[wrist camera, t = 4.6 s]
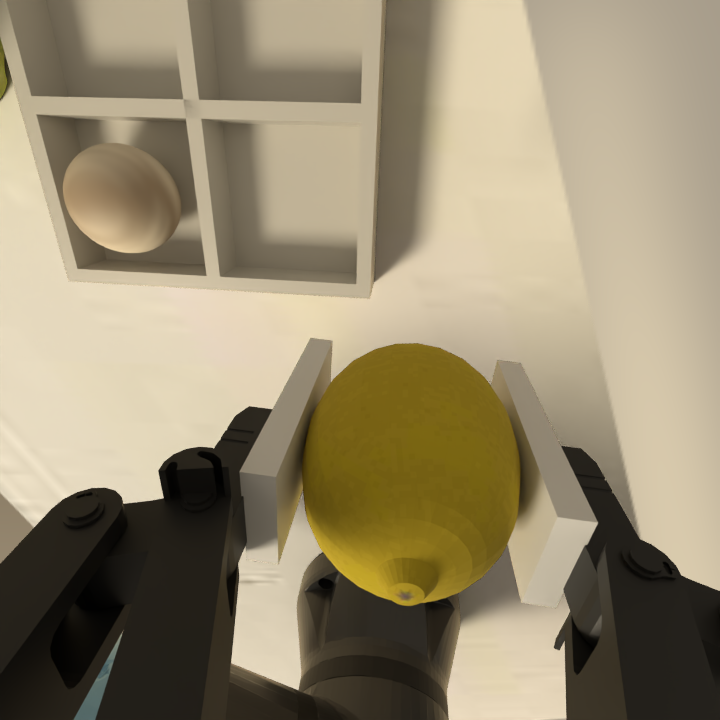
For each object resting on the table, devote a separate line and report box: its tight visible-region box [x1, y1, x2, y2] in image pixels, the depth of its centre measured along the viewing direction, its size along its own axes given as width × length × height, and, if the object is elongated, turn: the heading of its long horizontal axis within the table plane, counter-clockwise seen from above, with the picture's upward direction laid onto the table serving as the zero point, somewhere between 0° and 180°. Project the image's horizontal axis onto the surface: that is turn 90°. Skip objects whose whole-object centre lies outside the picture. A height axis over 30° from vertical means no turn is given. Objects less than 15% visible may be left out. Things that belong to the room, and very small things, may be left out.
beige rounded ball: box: [63, 143, 181, 253], centre depth 23 cm, size 6×6×6 cm
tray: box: [0, 0, 387, 299], centre depth 22 cm, size 18×18×4 cm
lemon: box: [302, 343, 521, 606], centre depth 11 cm, size 6×6×8 cm
